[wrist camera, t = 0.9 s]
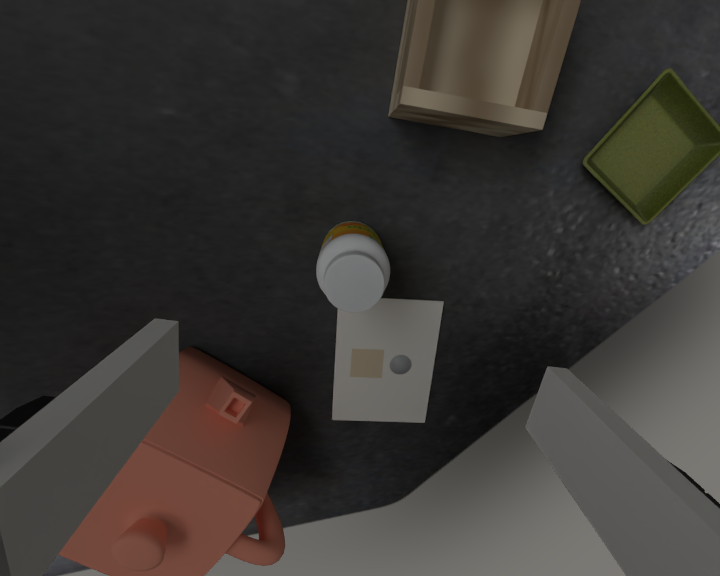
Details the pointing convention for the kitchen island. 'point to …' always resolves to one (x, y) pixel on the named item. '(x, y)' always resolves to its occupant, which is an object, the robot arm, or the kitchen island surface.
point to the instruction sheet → (386, 361)
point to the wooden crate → (481, 63)
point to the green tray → (655, 148)
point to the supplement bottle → (352, 267)
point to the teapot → (193, 482)
